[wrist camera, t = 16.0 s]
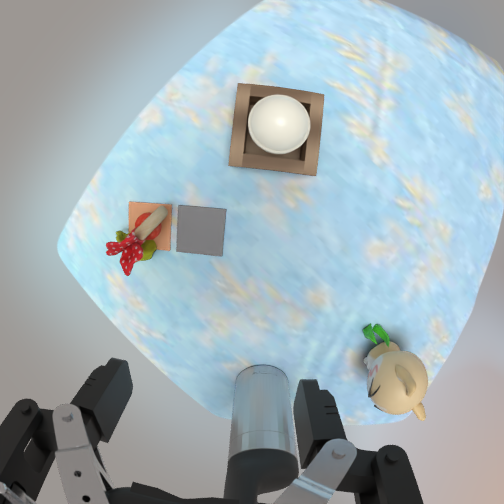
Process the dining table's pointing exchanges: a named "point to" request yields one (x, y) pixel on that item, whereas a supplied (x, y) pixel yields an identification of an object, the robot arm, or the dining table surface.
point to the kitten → (394, 376)
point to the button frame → (254, 157)
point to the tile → (165, 234)
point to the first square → (200, 230)
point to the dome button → (278, 124)
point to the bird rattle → (138, 239)
